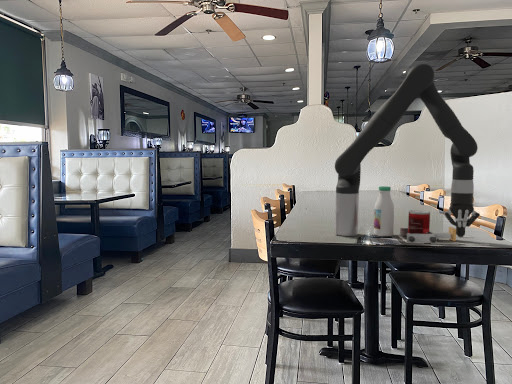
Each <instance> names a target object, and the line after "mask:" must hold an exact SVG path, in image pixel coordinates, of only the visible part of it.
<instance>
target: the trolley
mask: <svg viewBox="0 0 512 384" xmlns="http://www.w3.org/2000/svg"><path fill="white" fill-rule="evenodd" d="M398 235H401V236H402V237H406V240H407V242H430V243H438V239H444V240H445V239H448V240H451V241H453V242H456V240H457V239H456V238H457V237H456V236H457V235H456V227H455V228H454V227H453V226H448V232H446V231H445V232H444V231H432V230H430V229H429V234H419V233H408V227H399V234H398Z"/></svg>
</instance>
